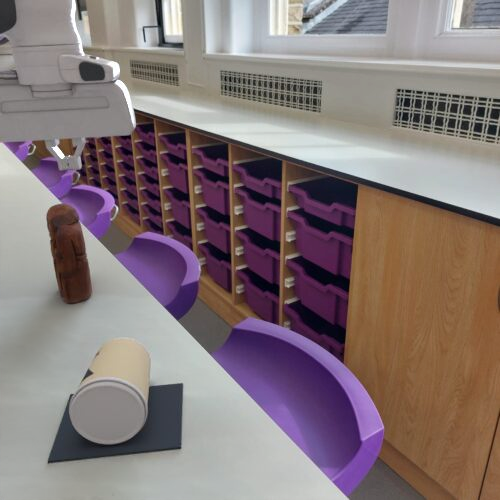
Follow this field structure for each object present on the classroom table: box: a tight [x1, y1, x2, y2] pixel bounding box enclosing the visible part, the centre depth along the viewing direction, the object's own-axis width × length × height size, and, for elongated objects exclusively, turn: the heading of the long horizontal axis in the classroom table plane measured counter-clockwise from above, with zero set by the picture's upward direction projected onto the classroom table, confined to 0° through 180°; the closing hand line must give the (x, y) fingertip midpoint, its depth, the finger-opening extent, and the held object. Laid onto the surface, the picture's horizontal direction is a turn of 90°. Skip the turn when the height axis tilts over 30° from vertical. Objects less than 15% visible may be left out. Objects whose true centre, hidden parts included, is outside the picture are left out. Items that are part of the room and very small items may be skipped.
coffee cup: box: [69, 337, 152, 444], centre depth 64 cm, size 9×9×12 cm
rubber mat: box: [47, 382, 184, 464], centre depth 65 cm, size 16×12×1 cm
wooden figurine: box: [45, 202, 93, 304], centre depth 94 cm, size 12×6×18 cm, turn 25°
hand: (70, 169), depth 71 cm, fingers closed
